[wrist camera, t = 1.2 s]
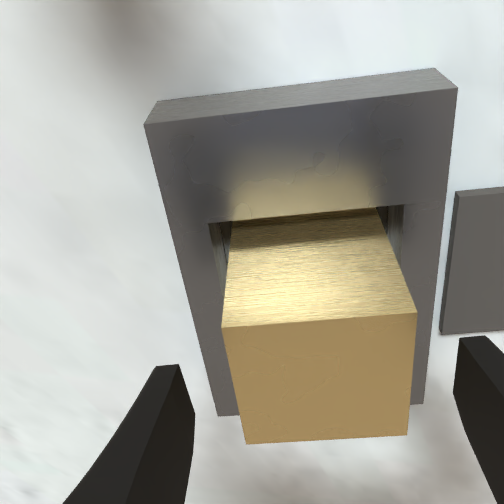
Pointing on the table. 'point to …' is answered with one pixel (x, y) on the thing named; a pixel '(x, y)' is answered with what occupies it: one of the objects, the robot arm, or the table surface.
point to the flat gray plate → (475, 264)
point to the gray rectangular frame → (305, 182)
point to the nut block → (318, 328)
